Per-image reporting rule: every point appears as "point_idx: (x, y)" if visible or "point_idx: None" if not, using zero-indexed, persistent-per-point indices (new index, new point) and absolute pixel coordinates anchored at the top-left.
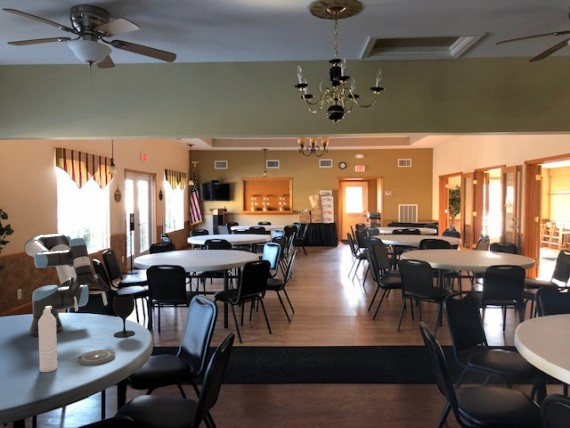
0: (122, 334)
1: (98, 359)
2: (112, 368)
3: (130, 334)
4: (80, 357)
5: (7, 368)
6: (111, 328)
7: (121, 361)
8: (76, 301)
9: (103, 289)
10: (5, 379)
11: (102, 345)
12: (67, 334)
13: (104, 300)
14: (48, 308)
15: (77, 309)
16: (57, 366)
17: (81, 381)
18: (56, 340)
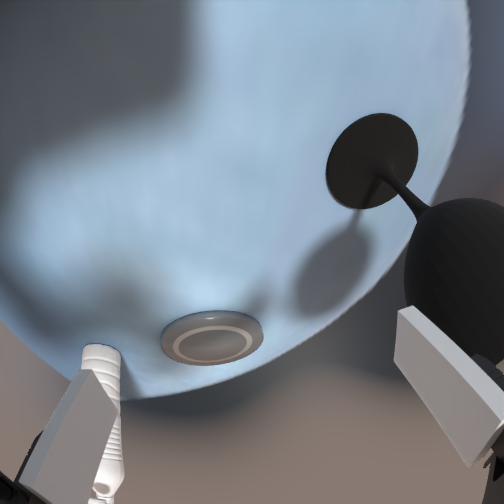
0: (362, 186)
1: (216, 360)
2: (240, 369)
3: (386, 196)
4: (168, 344)
5: (5, 321)
6: (361, 11)
7: (265, 354)
8: (93, 475)
9: (494, 477)
10: (40, 356)
11: (245, 259)
12: (62, 4)
13: (417, 374)
14: (101, 502)
15: (111, 412)
16: (120, 357)
17: (183, 387)
18: (120, 423)
